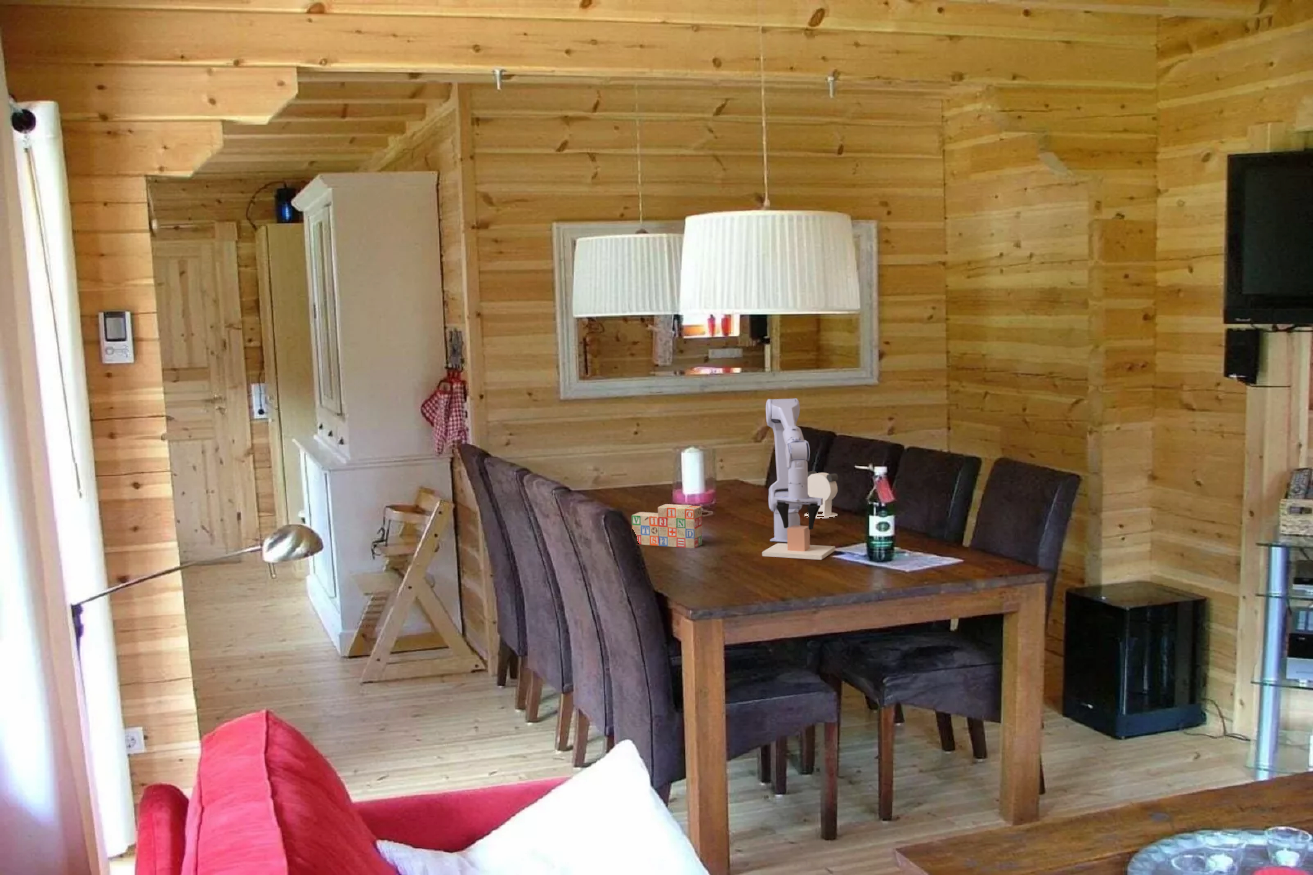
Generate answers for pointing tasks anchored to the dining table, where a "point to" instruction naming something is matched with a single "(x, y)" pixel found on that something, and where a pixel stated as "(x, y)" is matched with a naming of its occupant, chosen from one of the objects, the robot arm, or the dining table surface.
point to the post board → (799, 552)
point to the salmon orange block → (798, 538)
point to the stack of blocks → (670, 526)
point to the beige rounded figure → (823, 491)
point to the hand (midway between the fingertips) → (798, 528)
